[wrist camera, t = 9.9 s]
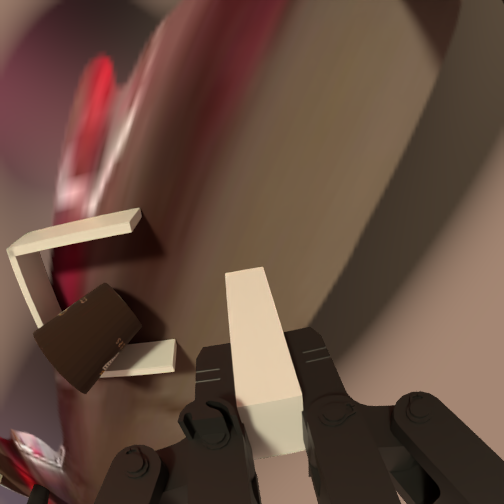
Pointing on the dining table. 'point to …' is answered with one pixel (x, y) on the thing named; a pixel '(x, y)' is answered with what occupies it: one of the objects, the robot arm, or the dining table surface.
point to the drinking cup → (38, 495)
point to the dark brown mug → (88, 336)
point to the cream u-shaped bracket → (44, 300)
